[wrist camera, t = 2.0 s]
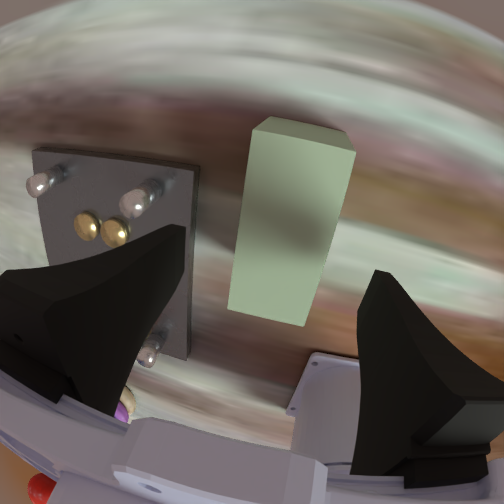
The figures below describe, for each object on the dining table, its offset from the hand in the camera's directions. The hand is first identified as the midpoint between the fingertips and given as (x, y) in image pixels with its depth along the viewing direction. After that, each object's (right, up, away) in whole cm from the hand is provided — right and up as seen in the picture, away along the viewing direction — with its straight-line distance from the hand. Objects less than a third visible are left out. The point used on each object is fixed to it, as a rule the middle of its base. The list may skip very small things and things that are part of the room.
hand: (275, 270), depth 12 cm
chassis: (-11, 0, +11) cm, 16 cm away
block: (+1, +4, +6) cm, 7 cm away
